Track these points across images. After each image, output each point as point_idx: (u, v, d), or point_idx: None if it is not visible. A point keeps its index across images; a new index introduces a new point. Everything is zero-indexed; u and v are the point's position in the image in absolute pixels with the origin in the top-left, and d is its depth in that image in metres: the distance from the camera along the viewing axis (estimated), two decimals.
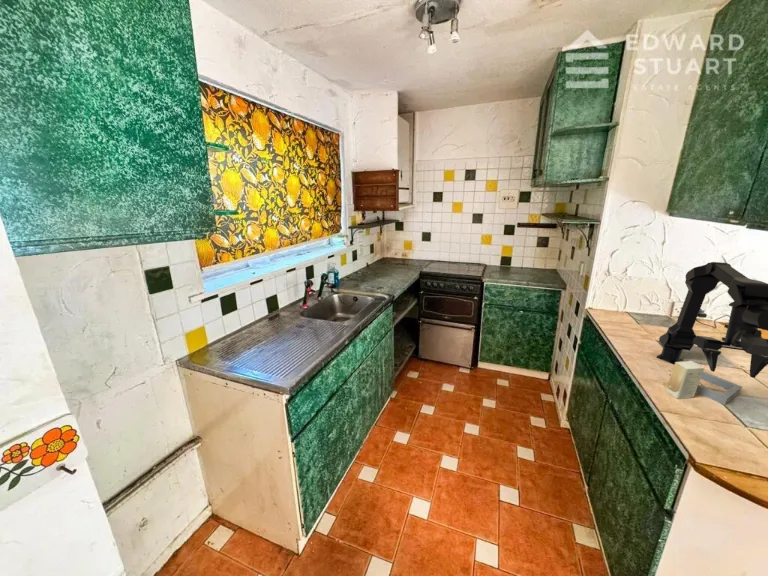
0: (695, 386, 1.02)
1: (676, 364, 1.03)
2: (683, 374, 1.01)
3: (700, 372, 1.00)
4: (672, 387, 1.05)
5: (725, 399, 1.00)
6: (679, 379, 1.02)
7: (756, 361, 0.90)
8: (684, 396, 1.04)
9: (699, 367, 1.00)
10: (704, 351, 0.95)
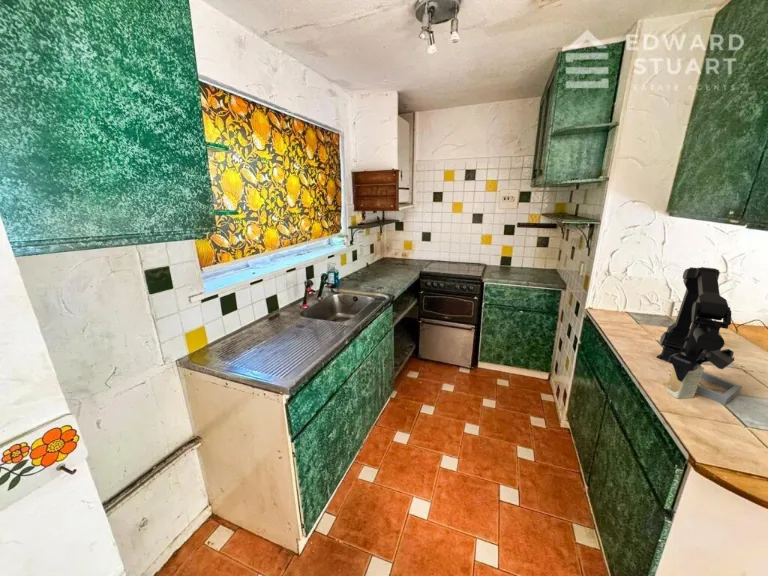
0: (694, 386, 1.02)
1: None
2: None
3: (700, 372, 1.00)
4: (672, 387, 1.05)
5: (725, 399, 1.00)
6: None
7: None
8: (684, 396, 1.04)
9: (699, 367, 1.00)
10: (675, 365, 1.01)
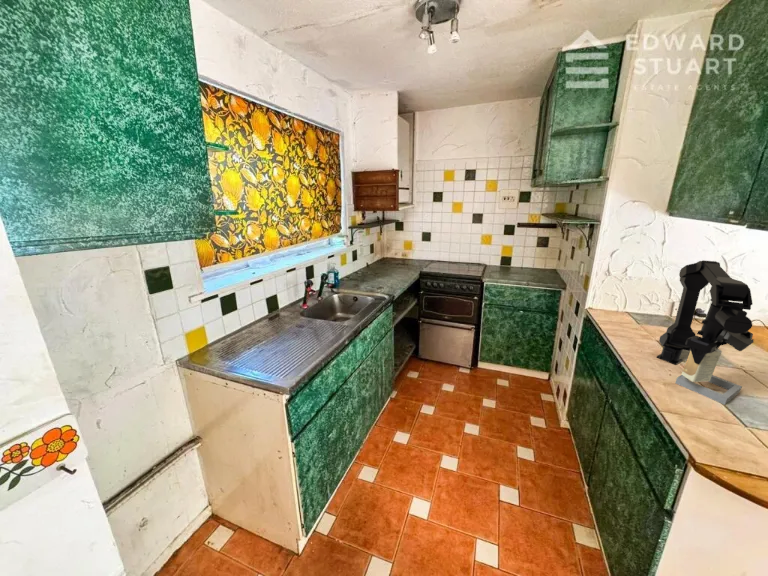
0: (711, 369, 1.02)
1: None
2: None
3: (718, 355, 1.00)
4: (688, 371, 1.05)
5: (725, 399, 1.00)
6: None
7: None
8: (700, 379, 1.03)
9: (717, 350, 1.00)
10: (692, 348, 1.01)
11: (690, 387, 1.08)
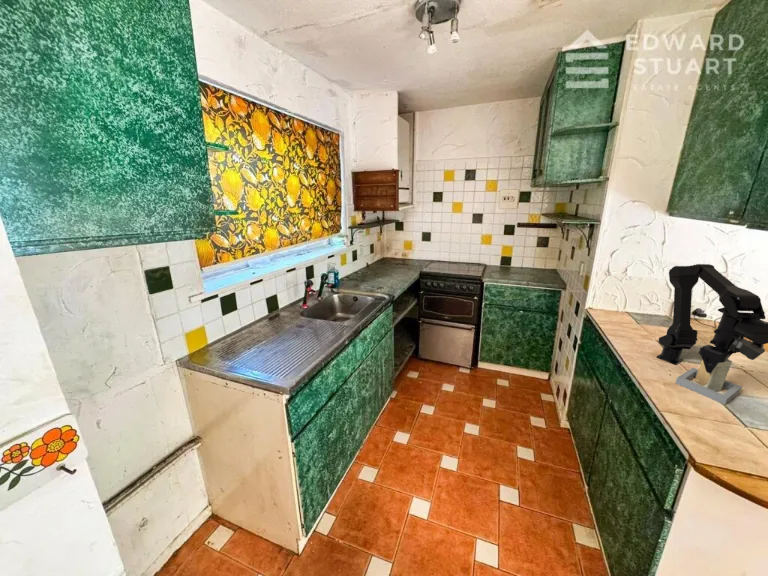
0: (722, 379, 1.05)
1: None
2: None
3: (728, 366, 1.04)
4: (700, 381, 1.08)
5: (725, 399, 1.00)
6: None
7: None
8: (712, 389, 1.07)
9: (727, 361, 1.03)
10: (704, 357, 1.03)
11: (690, 387, 1.08)
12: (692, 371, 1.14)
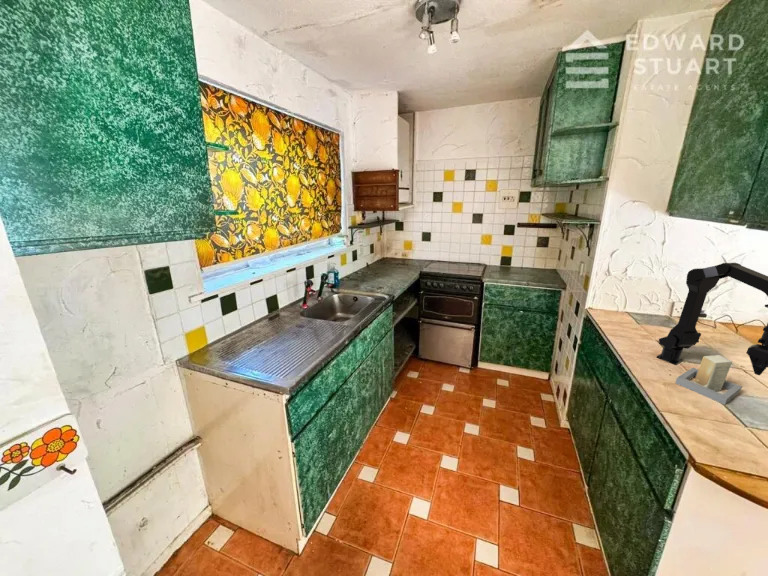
0: (722, 379, 1.05)
1: (704, 358, 1.06)
2: (712, 368, 1.04)
3: (728, 366, 1.04)
4: (700, 381, 1.08)
5: (725, 399, 1.00)
6: (708, 372, 1.05)
7: None
8: (712, 389, 1.07)
9: (727, 361, 1.03)
10: (752, 358, 0.93)
11: (690, 387, 1.08)
12: (692, 371, 1.14)
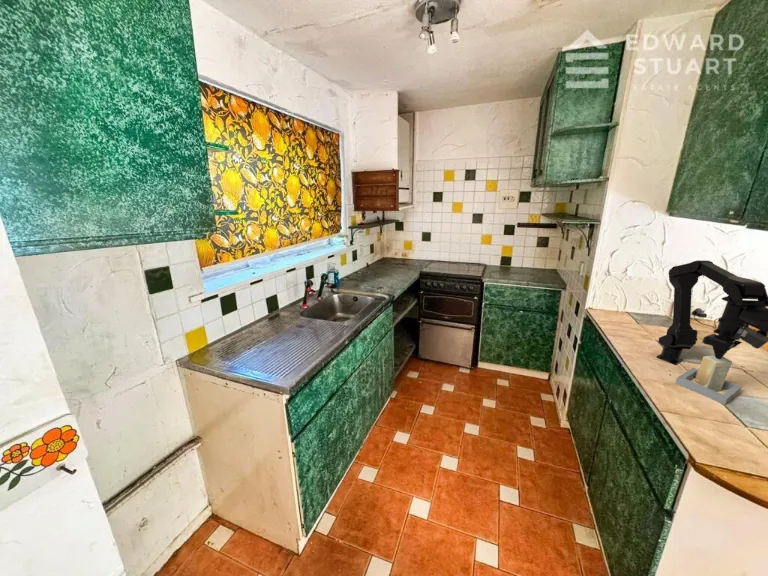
0: (722, 379, 1.05)
1: (704, 358, 1.06)
2: (712, 368, 1.04)
3: (728, 366, 1.04)
4: (700, 381, 1.08)
5: (725, 399, 1.00)
6: (708, 372, 1.05)
7: None
8: (712, 389, 1.07)
9: (727, 361, 1.03)
10: None
11: (690, 387, 1.08)
12: (692, 371, 1.14)
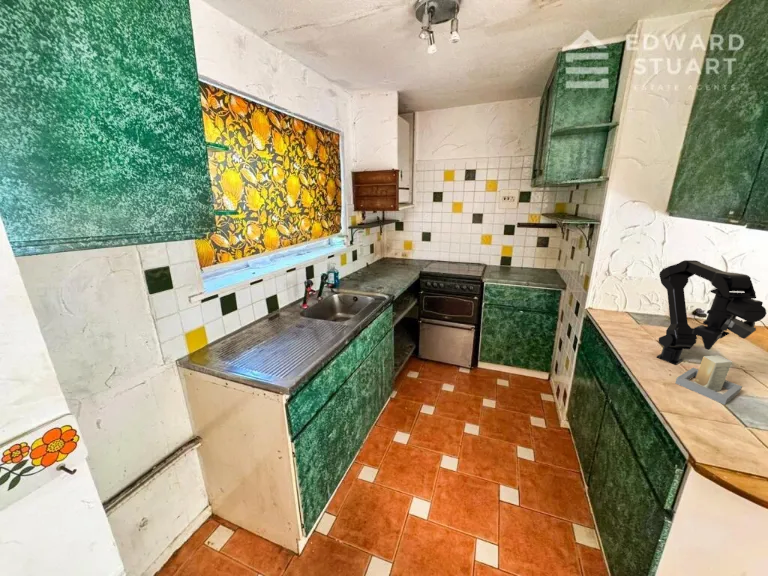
0: (722, 379, 1.05)
1: (704, 358, 1.06)
2: (712, 368, 1.04)
3: (728, 366, 1.04)
4: (700, 381, 1.08)
5: (725, 399, 1.00)
6: (708, 372, 1.05)
7: None
8: (712, 389, 1.07)
9: (727, 361, 1.03)
10: None
11: (690, 387, 1.08)
12: (692, 371, 1.14)
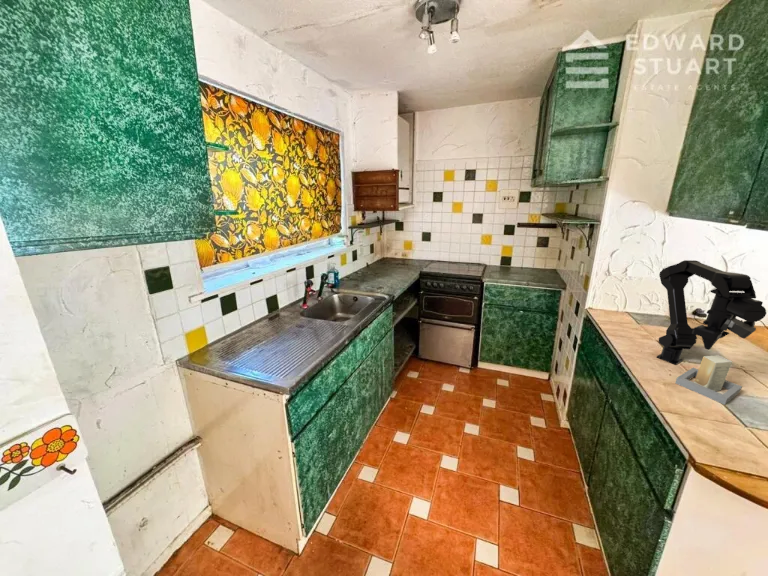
0: (722, 379, 1.05)
1: (704, 358, 1.06)
2: (712, 368, 1.04)
3: (728, 366, 1.04)
4: (700, 381, 1.08)
5: (725, 399, 1.00)
6: (708, 372, 1.05)
7: None
8: (712, 389, 1.07)
9: (727, 361, 1.03)
10: None
11: (690, 387, 1.08)
12: (692, 371, 1.14)
